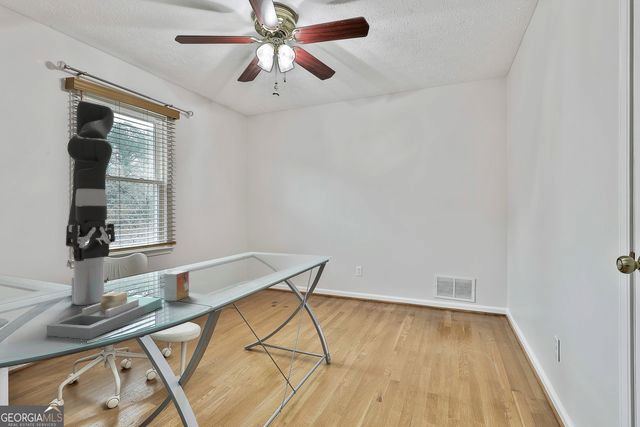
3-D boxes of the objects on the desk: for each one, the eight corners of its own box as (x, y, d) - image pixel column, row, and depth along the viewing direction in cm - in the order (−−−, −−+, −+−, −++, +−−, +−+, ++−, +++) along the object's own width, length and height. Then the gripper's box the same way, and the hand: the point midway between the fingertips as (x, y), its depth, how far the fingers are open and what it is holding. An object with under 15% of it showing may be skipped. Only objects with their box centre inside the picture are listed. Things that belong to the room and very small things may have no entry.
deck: (46, 335, 85) (46, 318, 85) (127, 304, 114) (127, 291, 114) (90, 339, 83) (90, 321, 83) (161, 306, 112) (161, 292, 112)
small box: (176, 301, 118) (176, 274, 118) (163, 300, 119) (163, 273, 119) (189, 295, 126) (189, 270, 125) (177, 295, 127) (177, 269, 127)
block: (101, 311, 97) (100, 295, 97) (113, 306, 102) (113, 291, 102) (114, 311, 97) (114, 296, 97) (127, 306, 102) (127, 291, 101)
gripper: (100, 205, 99) (101, 255, 99) (57, 204, 85) (58, 262, 85) (121, 205, 98) (122, 255, 98) (80, 203, 84) (81, 262, 84)
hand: (92, 258), depth 91 cm, fingers open, 8 cm apart
